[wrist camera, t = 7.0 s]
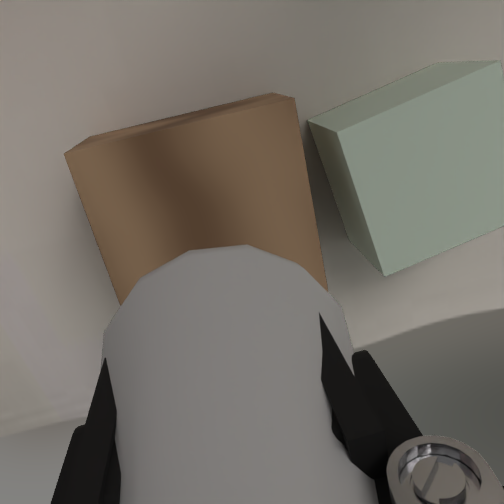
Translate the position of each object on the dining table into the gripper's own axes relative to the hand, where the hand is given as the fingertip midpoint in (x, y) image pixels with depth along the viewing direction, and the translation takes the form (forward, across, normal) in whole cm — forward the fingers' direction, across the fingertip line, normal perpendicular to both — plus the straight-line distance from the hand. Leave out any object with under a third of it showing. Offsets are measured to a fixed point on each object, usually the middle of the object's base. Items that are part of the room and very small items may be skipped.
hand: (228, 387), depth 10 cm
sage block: (+15, -10, 0) cm, 18 cm away
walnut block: (+15, 0, 0) cm, 15 cm away
